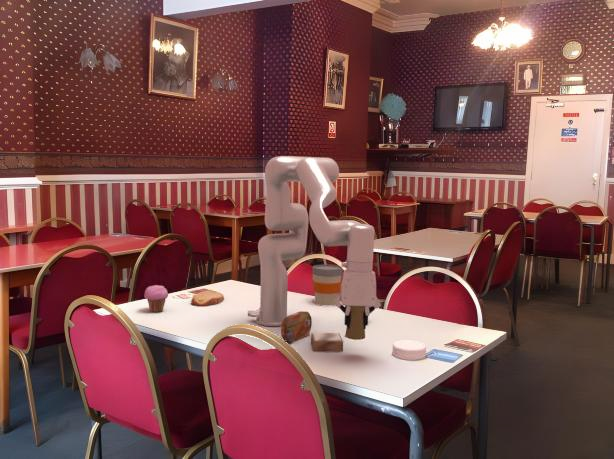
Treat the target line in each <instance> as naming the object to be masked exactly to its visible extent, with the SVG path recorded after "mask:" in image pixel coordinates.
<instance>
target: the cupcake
mask: <svg viewBox="0 0 614 459" xmlns="http://www.w3.org/2000/svg"><path fill="white" fill-rule="evenodd" d="M168 297H169V293H168V290H167V288H165V286H164V285H157V284H155V285H149V286H148V287H146V288H145V290H144V298H145V299H146V301H147V302H148V309H149V311H150V312H152V313H157V312H158V313H161V312H163V311H164V307H165V303H166V299H168Z"/></svg>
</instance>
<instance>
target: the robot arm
mask: <svg viewBox="0 0 614 459" xmlns="http://www.w3.org/2000/svg"><path fill="white" fill-rule="evenodd" d="M339 176H340V168H339V165H338V163H337V162H336V161H335V160H334V159H333V158H331V157H315V156H314V157H313V156H296V155H295V156H294V155H288V156H287V155H280V156H275V157H272V158H271V159H270V160H268V162H267V164H266V165H265V168H264V180H265V186H266V194H265V208H264V209H265V211H264V224H265V227H266V228H267V230H269V231H275V232H276V231H277V232H278V231H280V232H281V231H289V232H287V233H270V234H266V235H264V236H262V237H261V238H260V239H259V241H258V244H257V249H258V250H257V251H258V256H259V262H260V263H259V264H260V298H259V299H260V304H259V309H256V310H247V317H250V318H255V323H257V324H258V325H260V326H264V327H281V324H282V321H283V320H284V318H285V317H287V316H288V271H287V268H286V266H285V264H284V263H283V261H290V260H292V261H293V260H298V259H301V258H302V257H303V256H304V255H305V253H306V250H307V241H308V230H309V224H310V228H311V229H312V231H313V234H314V235H315V237H316V239H317V240H318V242H320V243H321V244H322V245H323V246H325V247H339V246H341V247H343V246H347V251H346V252H347V254H346V260H345V261H343V262H341V267H342V268H345V269H344V270H343V272H342V273H343V275H342V276H341V281H342V283H341V290H340V292H339V295H338V297H337V298H336V300H335V301H334V305H333V306H335V307H337V308H338V309H339V310H341V311H342V313H344V326H346V328H348V329H349V328H350V322H351V316H350V306H361V307H365V311H364V329H365V330H366V328H367V327H366V326H368V325H369V316H370V315H371V313H373V312H374V311H375V310H376V309H378V308H380V307H381V306H382V303H381V302H380V300H379V298H378V297H377V280H376V272H375V271H374V270H373V264H374V262H373V261H374V247H375V232H376V231H375V228H374V226H373V225H370V224H366V223H362V222H359V221H356V220H353V219H349V220H348V219H342V220H329V219H328V217H327V215H326V213H325V211H324V208H326V207H328V206H330V204H332V203H333V202H334V201H335V200H336V198H337V194H338V191H337V189H336V188H335V187H336V186H334V184H333V183H335V182H336V181H337V180H338V179H339ZM288 182H294V183H296V182H300V183H301V185H302V187H303V189H304V190H305V193H306V194H307V196H308V198H309V200H310V202H311V204H310V208H309V212H308V211H307V210H308V209H307V208H306V207H305V206H304V205H303V204H302V203H297V202H293V203H291V197H292V191H291V188H290V186H289V184H288Z"/></svg>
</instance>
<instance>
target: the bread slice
mask: <svg viewBox="0 0 614 459" xmlns="http://www.w3.org/2000/svg"><path fill="white" fill-rule="evenodd" d="M190 300H191V301H190V302H191V304H192V305H193V306H195V307H198V308H199V307H210V306H215V305H219V304H221V303H223V302H224V300H225V297H224V294H223V293H221V292H220V291H213V290H203V291H200V292H198V293H196V294H194V295H193V296H192V298H191V299H190Z"/></svg>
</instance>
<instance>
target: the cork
mask: <svg viewBox="0 0 614 459" xmlns="http://www.w3.org/2000/svg"><path fill="white" fill-rule="evenodd" d="M364 311H365V307H361V306H350V316H351V322H350V328H349V329H348V328H347V327H346V329H345V334H344V336H345V338H347V339H350V340H354V341H355V340H356V341H358V340H359V341H360V340H364V339H365V338H366V329H364Z"/></svg>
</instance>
